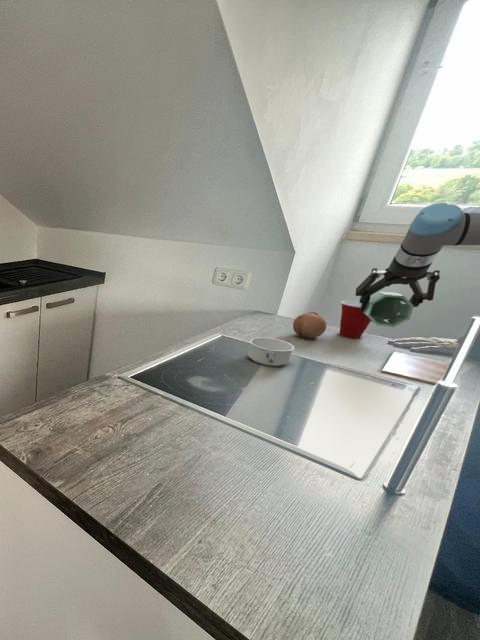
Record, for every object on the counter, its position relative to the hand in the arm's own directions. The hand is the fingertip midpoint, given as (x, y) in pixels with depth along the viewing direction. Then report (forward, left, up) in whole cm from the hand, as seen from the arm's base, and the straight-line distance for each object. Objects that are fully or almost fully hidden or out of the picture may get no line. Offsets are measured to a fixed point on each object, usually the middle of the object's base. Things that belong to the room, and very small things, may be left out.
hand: (383, 310), depth 120 cm
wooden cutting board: (-13, -4, -14) cm, 19 cm away
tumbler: (-3, +2, -3) cm, 5 cm away
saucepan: (-12, +37, -14) cm, 41 cm away
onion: (+13, +11, -14) cm, 22 cm away
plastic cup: (+15, -5, -14) cm, 21 cm away
